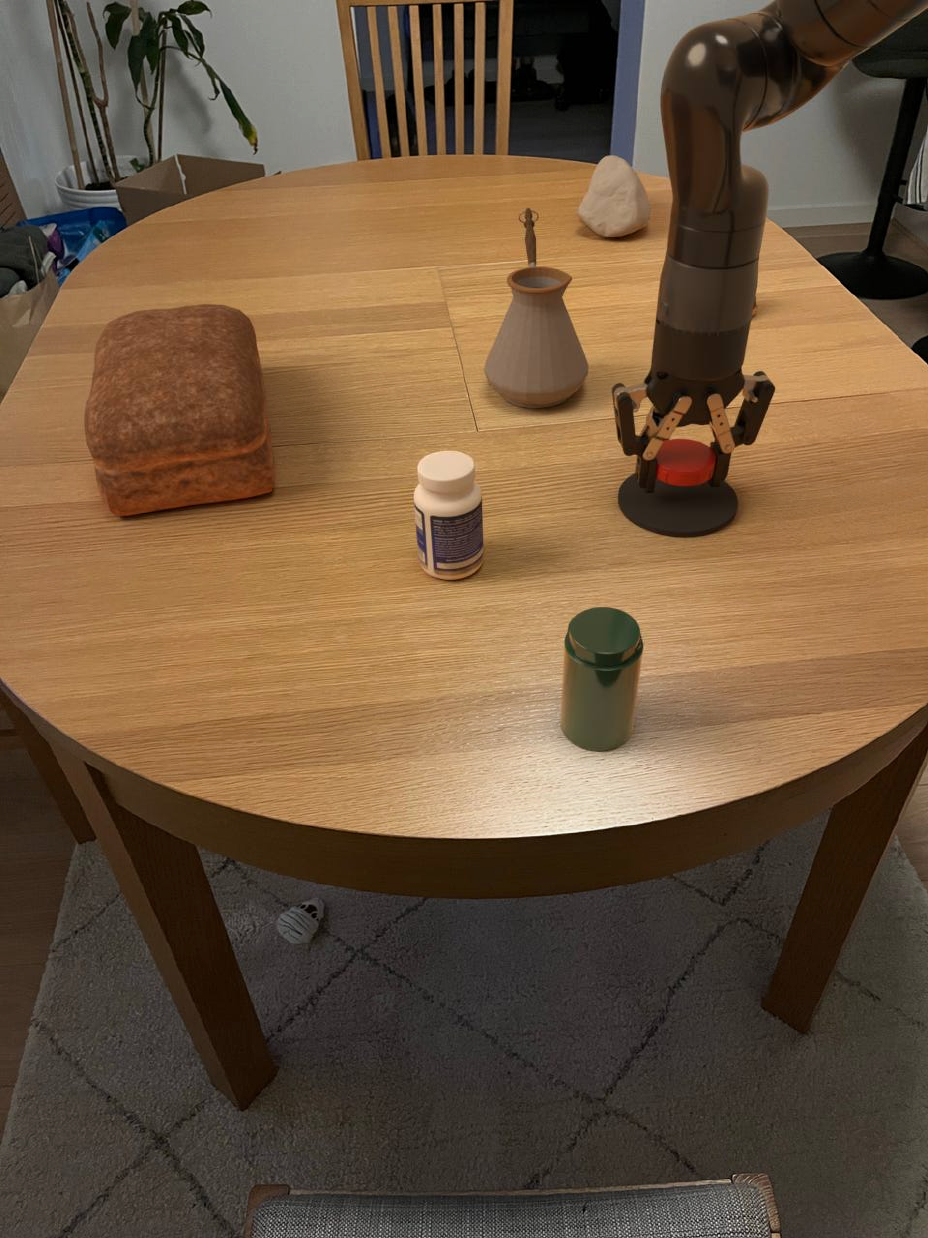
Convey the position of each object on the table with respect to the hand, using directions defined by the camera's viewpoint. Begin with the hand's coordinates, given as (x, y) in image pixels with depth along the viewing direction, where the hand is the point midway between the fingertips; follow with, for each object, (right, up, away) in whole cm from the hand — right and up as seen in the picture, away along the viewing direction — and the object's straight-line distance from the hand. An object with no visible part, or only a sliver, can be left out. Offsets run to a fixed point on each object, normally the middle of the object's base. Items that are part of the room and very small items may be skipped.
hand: (679, 484), depth 86 cm
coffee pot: (-12, +16, +22) cm, 30 cm away
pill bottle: (-21, -8, -4) cm, 23 cm away
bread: (-49, +7, +13) cm, 51 cm away
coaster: (0, -1, +1) cm, 2 cm away
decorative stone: (+3, +49, +58) cm, 76 cm away
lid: (0, +2, -2) cm, 3 cm away
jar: (-10, -20, -19) cm, 29 cm away
